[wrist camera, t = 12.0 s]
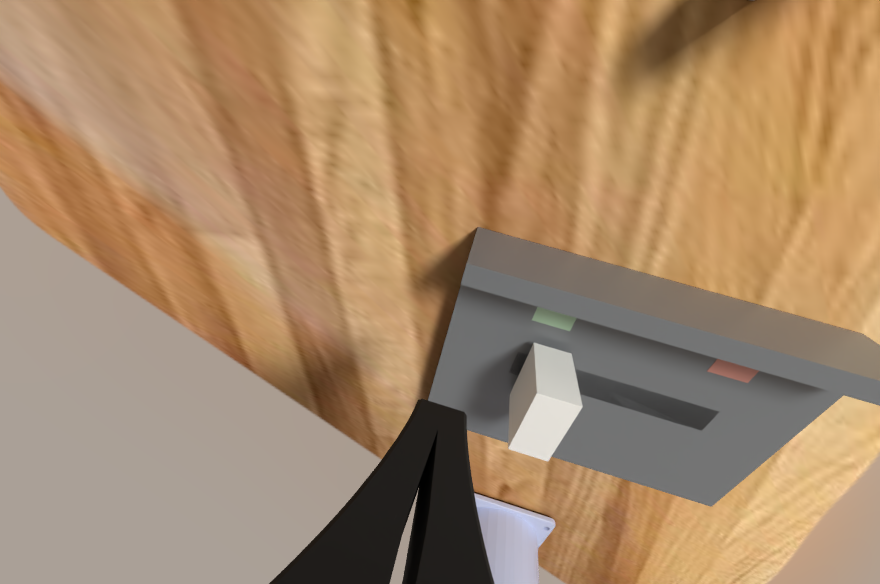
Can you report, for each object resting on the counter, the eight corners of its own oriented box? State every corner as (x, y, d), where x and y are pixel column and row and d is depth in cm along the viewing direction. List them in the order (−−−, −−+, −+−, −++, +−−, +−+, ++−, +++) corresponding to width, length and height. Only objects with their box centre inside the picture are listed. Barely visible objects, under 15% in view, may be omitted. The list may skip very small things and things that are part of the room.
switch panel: (700, 483, 23) (737, 560, 19) (428, 399, 24) (411, 456, 20) (863, 334, 17) (968, 406, 13) (477, 226, 18) (466, 263, 14)
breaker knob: (543, 405, 20) (548, 461, 17) (509, 394, 20) (508, 448, 17) (571, 353, 18) (582, 406, 15) (533, 342, 18) (536, 393, 15)
